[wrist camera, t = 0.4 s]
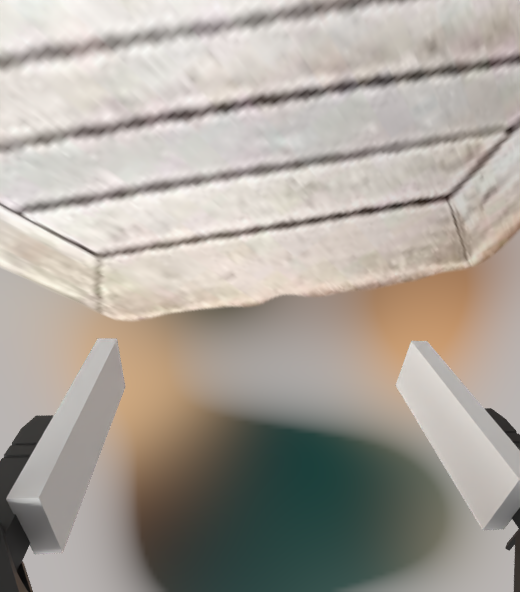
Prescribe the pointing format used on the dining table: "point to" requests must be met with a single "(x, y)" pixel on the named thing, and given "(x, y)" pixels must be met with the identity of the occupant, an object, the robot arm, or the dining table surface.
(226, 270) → the dining table surface
